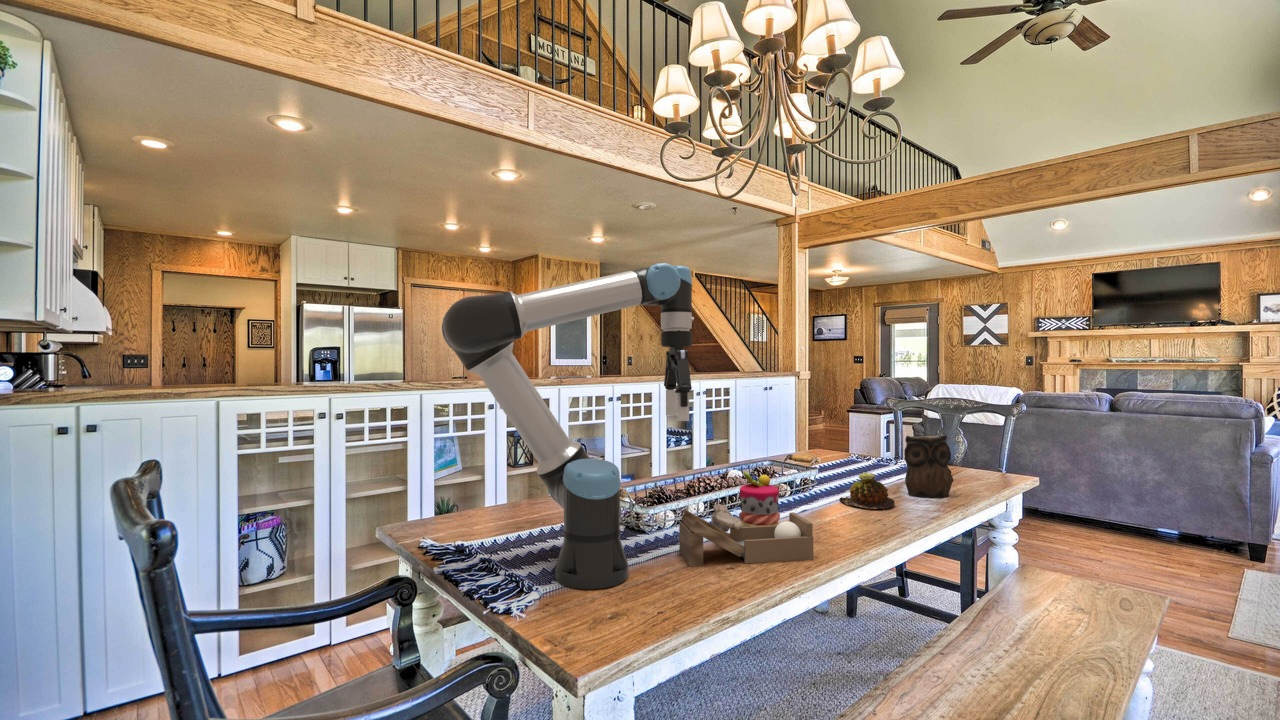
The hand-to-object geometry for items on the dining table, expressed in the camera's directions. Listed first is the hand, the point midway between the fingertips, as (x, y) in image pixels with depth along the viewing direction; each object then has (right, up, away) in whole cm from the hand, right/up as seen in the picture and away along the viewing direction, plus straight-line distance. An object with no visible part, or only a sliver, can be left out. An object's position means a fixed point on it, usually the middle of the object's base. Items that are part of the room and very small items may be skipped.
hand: (677, 418), depth 145 cm
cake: (+23, -31, +14) cm, 41 cm away
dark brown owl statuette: (+86, -31, +52) cm, 105 cm away
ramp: (+7, -31, -9) cm, 33 cm away
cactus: (+62, -31, +41) cm, 81 cm away
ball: (+25, -29, -9) cm, 39 cm away
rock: (+11, -32, +6) cm, 34 cm away
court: (+21, -31, -7) cm, 38 cm away
